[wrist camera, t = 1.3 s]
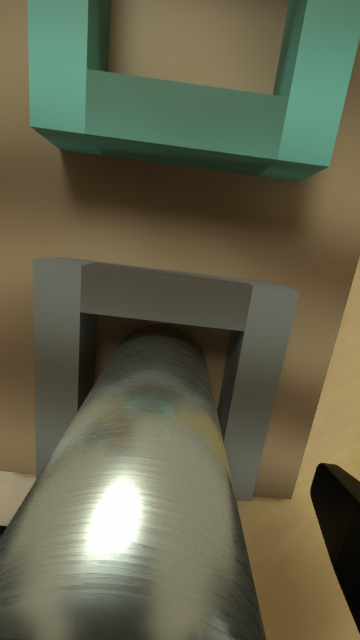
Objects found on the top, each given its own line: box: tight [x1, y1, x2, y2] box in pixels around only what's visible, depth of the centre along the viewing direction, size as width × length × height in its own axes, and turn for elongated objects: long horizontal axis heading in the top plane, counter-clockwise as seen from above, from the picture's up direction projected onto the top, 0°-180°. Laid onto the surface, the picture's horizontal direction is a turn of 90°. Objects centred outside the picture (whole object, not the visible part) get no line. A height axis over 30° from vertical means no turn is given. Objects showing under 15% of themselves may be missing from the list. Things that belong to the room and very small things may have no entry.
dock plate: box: [0, 0, 360, 501], centre depth 10 cm, size 24×14×3 cm, turn 173°
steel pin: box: [0, 325, 266, 640], centre depth 7 cm, size 4×4×10 cm
